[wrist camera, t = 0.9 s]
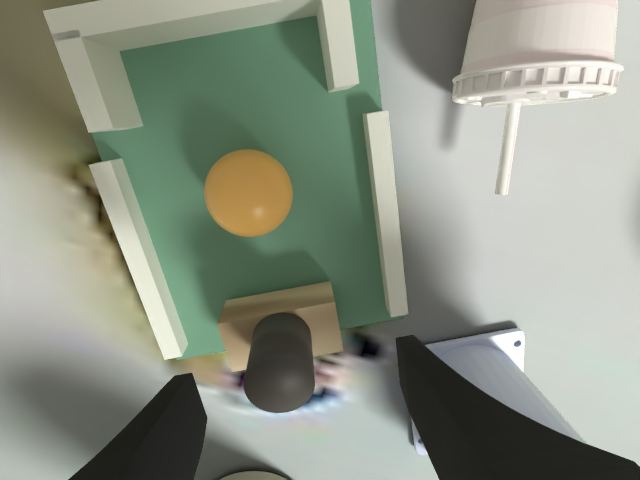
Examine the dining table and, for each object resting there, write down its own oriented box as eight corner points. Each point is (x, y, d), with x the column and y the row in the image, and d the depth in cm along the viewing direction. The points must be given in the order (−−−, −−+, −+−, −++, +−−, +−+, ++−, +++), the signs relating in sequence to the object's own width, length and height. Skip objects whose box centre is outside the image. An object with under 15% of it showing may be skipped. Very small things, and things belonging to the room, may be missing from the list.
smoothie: (440, -151, 14) (414, 191, 18) (627, -328, 9) (534, 213, 13) (537, -104, 17) (497, 184, 21) (726, -218, 12) (625, 200, 16)
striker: (338, 325, 21) (353, 399, 15) (238, 344, 21) (219, 424, 15) (330, 281, 20) (343, 342, 14) (225, 300, 20) (199, 369, 14)
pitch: (398, 307, 23) (420, 348, 19) (182, 347, 22) (158, 397, 18) (362, -24, 16) (383, -68, 13) (66, 29, 16) (-6, 1, 12)
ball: (299, 215, 19) (300, 240, 15) (226, 229, 19) (208, 257, 15) (284, 139, 18) (281, 145, 14) (205, 153, 18) (180, 163, 14)
